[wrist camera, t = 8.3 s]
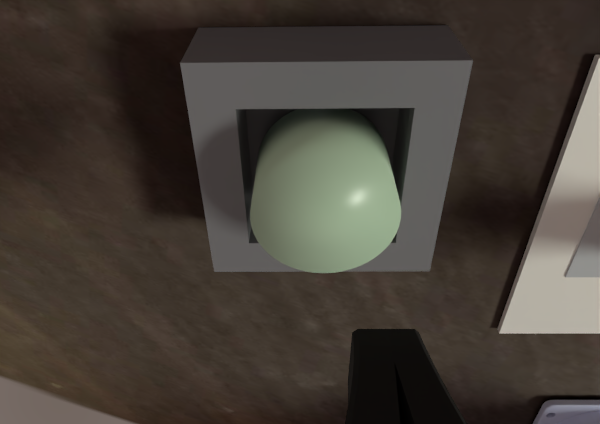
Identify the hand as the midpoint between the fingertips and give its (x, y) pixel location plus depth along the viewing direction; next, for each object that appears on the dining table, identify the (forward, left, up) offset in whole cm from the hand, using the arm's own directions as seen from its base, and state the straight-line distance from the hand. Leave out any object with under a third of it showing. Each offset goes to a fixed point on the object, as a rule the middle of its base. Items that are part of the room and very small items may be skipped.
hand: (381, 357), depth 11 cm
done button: (0, +1, -8) cm, 8 cm away
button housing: (0, +1, -10) cm, 10 cm away
